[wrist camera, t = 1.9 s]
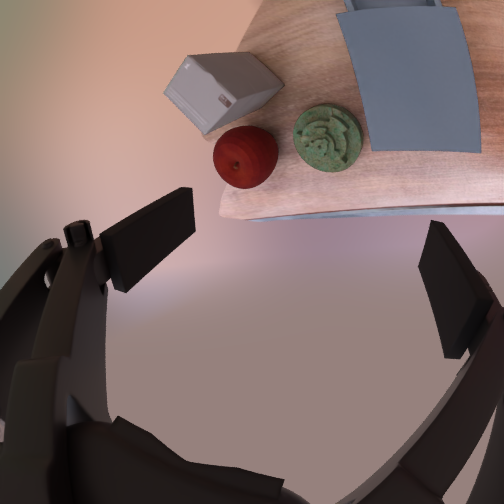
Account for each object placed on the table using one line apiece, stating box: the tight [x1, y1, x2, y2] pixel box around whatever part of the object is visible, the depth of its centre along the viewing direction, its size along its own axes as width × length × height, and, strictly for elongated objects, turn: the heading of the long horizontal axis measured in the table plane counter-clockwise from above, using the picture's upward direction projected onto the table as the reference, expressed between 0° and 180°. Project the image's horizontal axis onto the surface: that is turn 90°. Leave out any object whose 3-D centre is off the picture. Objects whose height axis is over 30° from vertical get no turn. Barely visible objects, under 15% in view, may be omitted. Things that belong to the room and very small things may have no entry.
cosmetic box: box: [163, 52, 284, 135], centre depth 31 cm, size 8×7×16 cm
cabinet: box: [336, 6, 481, 153], centre depth 22 cm, size 17×14×9 cm
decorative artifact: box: [293, 104, 363, 172], centre depth 35 cm, size 10×7×10 cm
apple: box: [213, 126, 278, 189], centre depth 41 cm, size 10×10×10 cm
